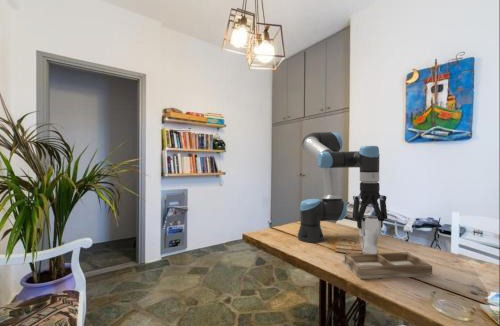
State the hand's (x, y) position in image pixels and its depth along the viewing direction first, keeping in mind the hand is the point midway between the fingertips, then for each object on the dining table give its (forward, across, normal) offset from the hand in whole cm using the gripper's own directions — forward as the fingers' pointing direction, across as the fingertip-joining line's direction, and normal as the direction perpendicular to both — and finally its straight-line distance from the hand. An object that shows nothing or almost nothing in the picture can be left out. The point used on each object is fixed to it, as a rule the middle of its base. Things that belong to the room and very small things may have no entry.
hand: (369, 235), depth 103 cm
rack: (+15, +7, 0) cm, 17 cm away
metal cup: (+7, 0, 0) cm, 7 cm away
